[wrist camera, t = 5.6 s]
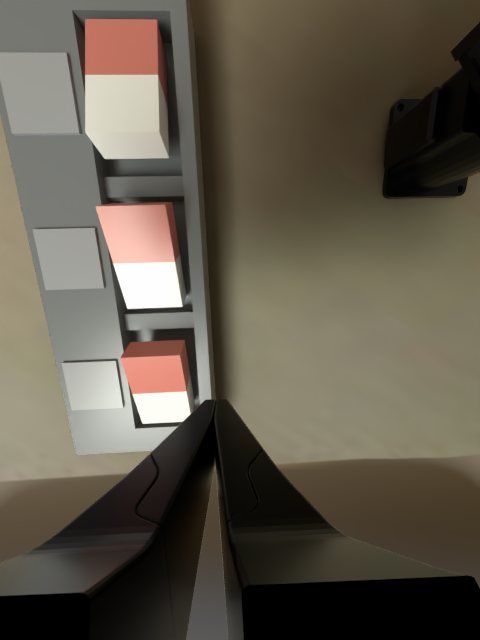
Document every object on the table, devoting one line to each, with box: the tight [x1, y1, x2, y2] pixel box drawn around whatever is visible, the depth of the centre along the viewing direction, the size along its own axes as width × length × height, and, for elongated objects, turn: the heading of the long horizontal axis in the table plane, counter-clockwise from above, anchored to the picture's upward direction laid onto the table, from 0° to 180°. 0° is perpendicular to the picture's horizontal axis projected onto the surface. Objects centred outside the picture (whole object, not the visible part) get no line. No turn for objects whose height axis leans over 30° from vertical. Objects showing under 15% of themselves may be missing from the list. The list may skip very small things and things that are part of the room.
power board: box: [0, 0, 216, 455], centre depth 17 cm, size 11×30×4 cm, turn 2°
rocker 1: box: [85, 19, 169, 159], centre depth 13 cm, size 4×6×2 cm, turn 2°
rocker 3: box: [120, 340, 195, 424], centre depth 17 cm, size 4×6×2 cm, turn 2°
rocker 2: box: [95, 202, 186, 309], centre depth 15 cm, size 4×6×2 cm, turn 2°
